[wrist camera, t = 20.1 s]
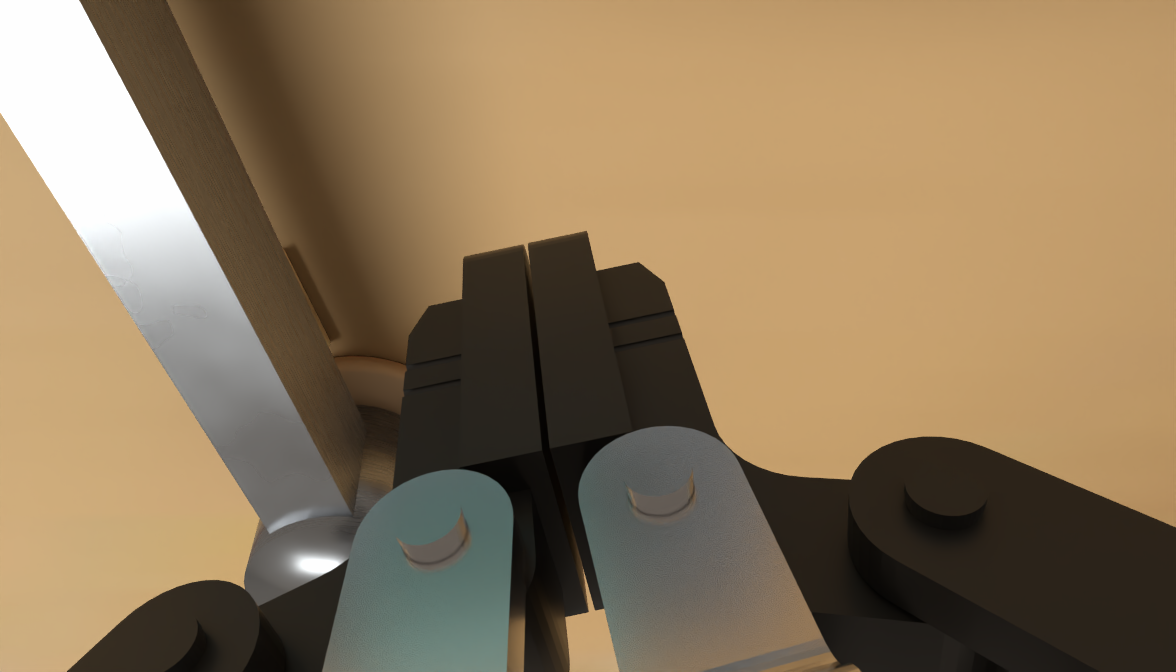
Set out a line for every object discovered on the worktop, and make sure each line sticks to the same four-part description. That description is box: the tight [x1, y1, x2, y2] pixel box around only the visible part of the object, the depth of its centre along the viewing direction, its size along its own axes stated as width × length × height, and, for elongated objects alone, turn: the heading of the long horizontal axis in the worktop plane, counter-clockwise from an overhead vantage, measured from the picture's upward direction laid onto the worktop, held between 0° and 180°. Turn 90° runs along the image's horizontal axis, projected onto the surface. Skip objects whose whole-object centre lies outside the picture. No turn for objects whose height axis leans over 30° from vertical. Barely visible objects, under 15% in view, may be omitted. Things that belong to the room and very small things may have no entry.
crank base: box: [283, 249, 407, 415], centre depth 23 cm, size 10×6×1 cm, turn 11°
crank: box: [0, 0, 400, 606], centre depth 18 cm, size 18×5×4 cm, turn 10°
